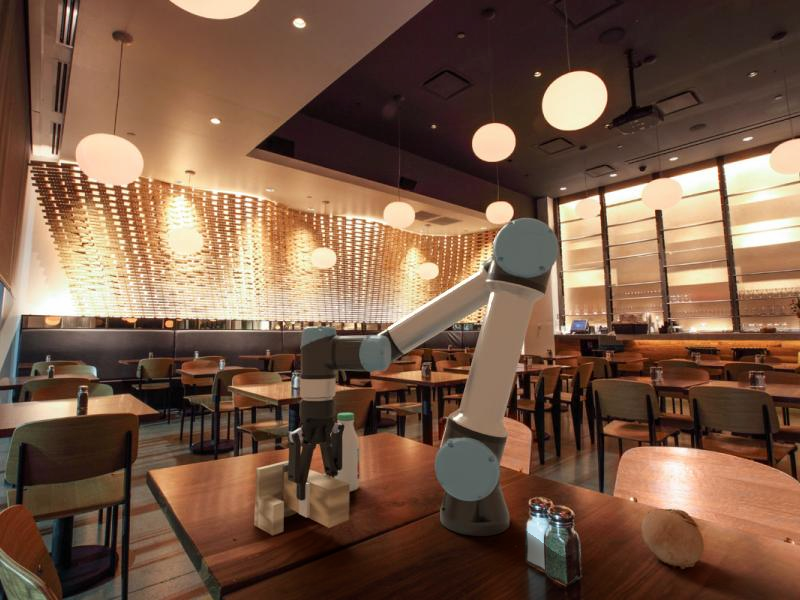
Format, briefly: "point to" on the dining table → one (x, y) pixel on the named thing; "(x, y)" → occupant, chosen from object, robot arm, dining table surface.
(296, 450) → the robot arm
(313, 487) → the rectangular wooden block
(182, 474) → the dining table surface
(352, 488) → the milk bottle
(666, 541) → the beige rounded lump
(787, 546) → the dining table surface
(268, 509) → the upright wooden board
